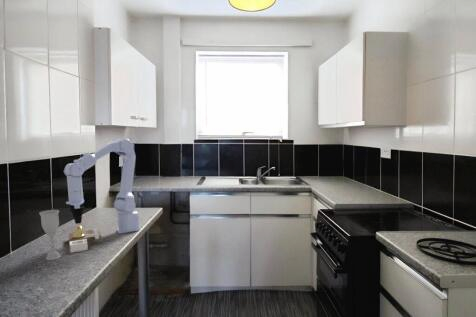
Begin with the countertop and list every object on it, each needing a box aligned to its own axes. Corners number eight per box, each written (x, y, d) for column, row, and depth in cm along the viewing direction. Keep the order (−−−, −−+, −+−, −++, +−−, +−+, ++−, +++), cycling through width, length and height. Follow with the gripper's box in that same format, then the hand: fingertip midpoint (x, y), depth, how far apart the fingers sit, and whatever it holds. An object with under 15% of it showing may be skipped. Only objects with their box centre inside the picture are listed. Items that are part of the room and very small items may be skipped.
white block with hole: (86, 245, 153) (86, 238, 153) (87, 249, 148) (87, 242, 147) (70, 248, 150) (69, 241, 150) (70, 252, 145) (69, 245, 145)
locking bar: (96, 232, 162) (96, 228, 161) (99, 238, 152) (98, 234, 152) (83, 234, 159) (83, 230, 159) (85, 240, 149) (84, 236, 149)
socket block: (98, 235, 169) (98, 228, 168) (101, 242, 157) (101, 235, 157) (69, 239, 163) (68, 233, 163) (70, 247, 152) (69, 240, 151)
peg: (85, 240, 160) (83, 224, 159) (85, 242, 156) (84, 226, 155) (73, 241, 158) (72, 226, 157) (74, 244, 154) (72, 228, 153)
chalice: (67, 255, 142) (63, 210, 141) (53, 261, 136) (49, 214, 134) (53, 253, 144) (49, 209, 143) (38, 260, 138) (34, 213, 137)
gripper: (65, 189, 160) (67, 220, 161) (65, 194, 147) (68, 227, 148) (82, 188, 163) (84, 217, 164) (84, 192, 150) (86, 224, 151)
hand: (78, 222), depth 156 cm, fingers open, 4 cm apart
